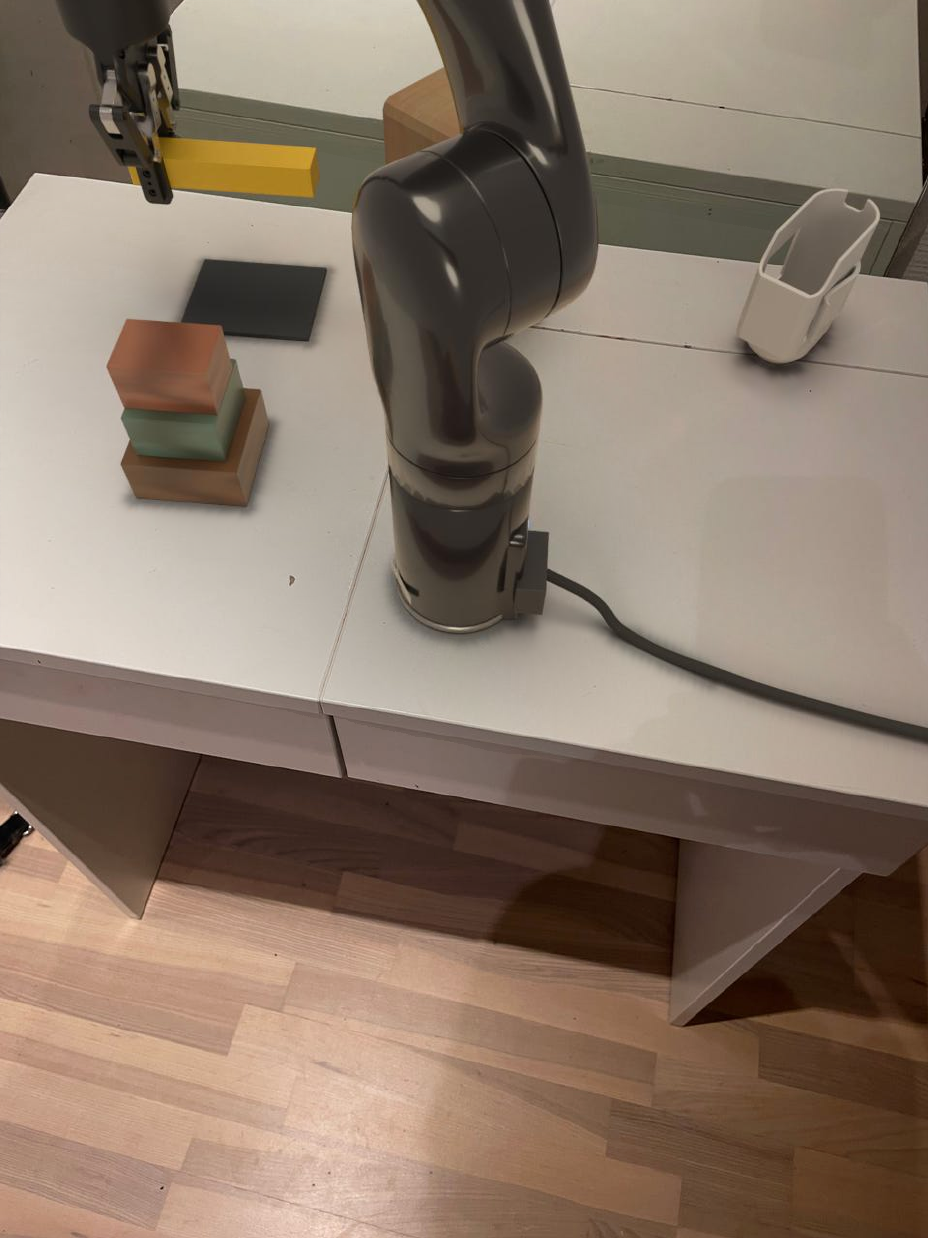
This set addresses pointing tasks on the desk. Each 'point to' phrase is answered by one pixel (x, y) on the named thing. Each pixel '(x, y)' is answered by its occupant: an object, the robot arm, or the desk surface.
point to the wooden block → (419, 116)
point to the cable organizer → (807, 276)
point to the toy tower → (186, 414)
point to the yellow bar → (238, 167)
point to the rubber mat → (256, 298)
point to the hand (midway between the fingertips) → (166, 187)
